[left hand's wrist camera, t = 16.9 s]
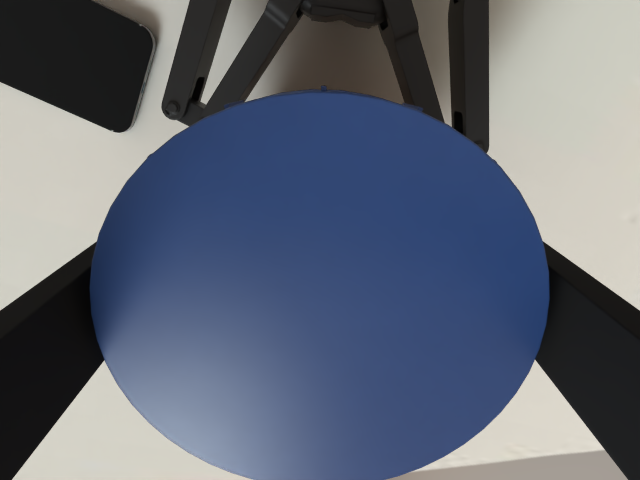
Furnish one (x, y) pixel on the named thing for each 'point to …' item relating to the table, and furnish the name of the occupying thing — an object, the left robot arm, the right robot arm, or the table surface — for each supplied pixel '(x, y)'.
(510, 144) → the table surface
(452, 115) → the right robot arm
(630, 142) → the table surface
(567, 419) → the table surface
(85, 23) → the smartphone
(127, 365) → the lid
